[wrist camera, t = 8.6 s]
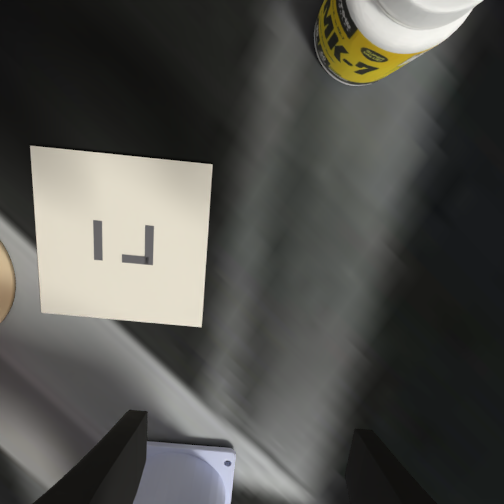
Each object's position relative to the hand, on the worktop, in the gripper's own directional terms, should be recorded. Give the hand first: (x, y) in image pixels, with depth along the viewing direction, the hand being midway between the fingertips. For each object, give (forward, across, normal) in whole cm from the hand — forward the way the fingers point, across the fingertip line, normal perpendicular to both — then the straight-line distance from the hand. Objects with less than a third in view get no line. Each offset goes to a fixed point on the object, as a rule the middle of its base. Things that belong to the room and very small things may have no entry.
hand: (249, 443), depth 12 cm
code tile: (+10, +8, -4) cm, 13 cm away
